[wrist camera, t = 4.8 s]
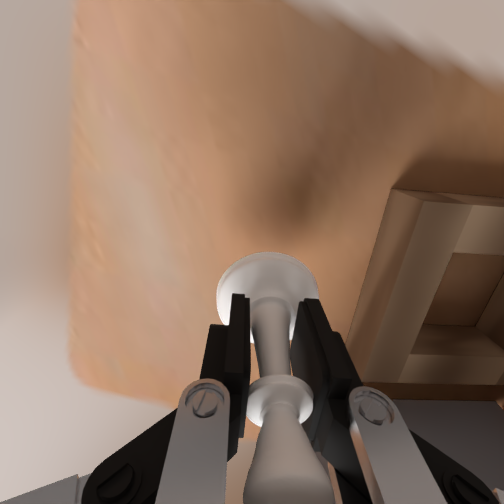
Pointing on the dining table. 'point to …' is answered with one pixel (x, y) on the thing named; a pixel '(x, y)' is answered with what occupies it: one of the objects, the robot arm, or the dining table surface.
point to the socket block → (427, 293)
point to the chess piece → (276, 380)
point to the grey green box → (458, 434)
